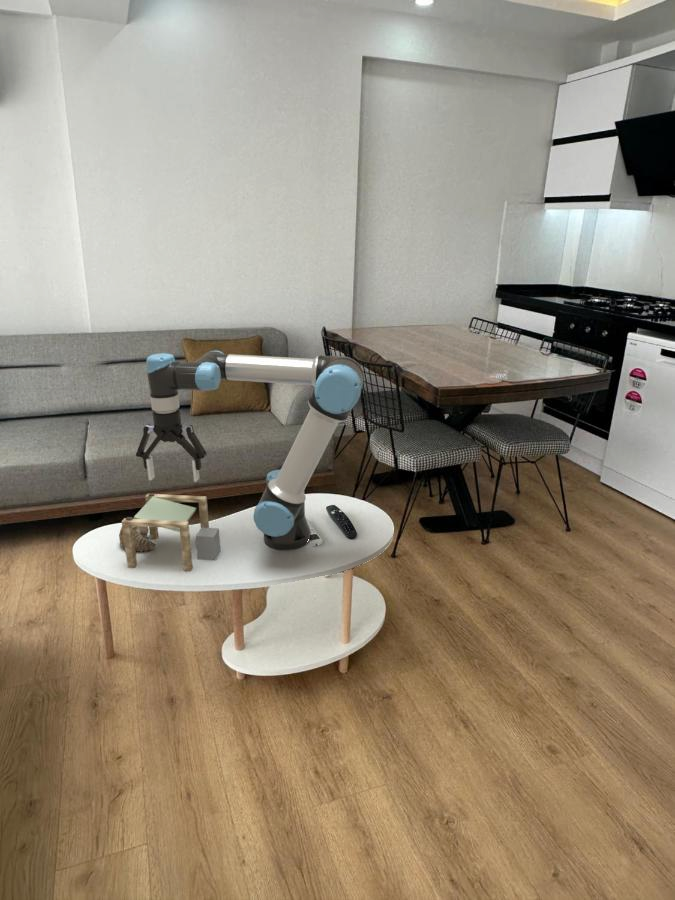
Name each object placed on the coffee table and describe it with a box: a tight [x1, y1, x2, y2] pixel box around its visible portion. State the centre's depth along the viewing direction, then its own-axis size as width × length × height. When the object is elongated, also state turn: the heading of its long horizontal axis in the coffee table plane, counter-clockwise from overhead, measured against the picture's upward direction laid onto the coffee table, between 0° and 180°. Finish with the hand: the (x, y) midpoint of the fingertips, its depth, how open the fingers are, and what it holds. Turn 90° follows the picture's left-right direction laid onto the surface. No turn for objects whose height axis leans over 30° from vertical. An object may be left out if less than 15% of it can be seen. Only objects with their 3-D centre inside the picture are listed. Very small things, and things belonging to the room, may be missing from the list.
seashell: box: [118, 526, 157, 553], centre depth 190 cm, size 14×10×10 cm
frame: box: [121, 492, 210, 572], centre depth 183 cm, size 19×19×16 cm
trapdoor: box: [133, 497, 197, 533], centre depth 181 cm, size 14×14×4 cm
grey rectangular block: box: [195, 526, 221, 561], centre depth 183 cm, size 6×6×8 cm
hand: (174, 479), depth 177 cm, fingers open, 13 cm apart
